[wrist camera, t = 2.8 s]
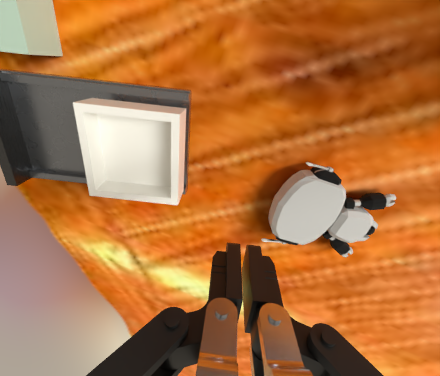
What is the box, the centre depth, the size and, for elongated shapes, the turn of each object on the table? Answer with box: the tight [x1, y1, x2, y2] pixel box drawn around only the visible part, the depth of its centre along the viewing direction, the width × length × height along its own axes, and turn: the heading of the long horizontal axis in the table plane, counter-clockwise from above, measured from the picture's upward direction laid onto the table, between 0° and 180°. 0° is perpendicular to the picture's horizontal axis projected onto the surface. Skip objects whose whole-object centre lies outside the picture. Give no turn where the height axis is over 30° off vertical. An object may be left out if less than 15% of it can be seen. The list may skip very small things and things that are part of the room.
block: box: [0, 0, 63, 56], centre depth 23 cm, size 5×5×5 cm
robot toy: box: [262, 162, 396, 257], centre depth 32 cm, size 12×4×15 cm
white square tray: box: [73, 98, 186, 205], centre depth 27 cm, size 10×10×6 cm
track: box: [0, 69, 191, 194], centre depth 28 cm, size 13×22×4 cm, turn 84°
